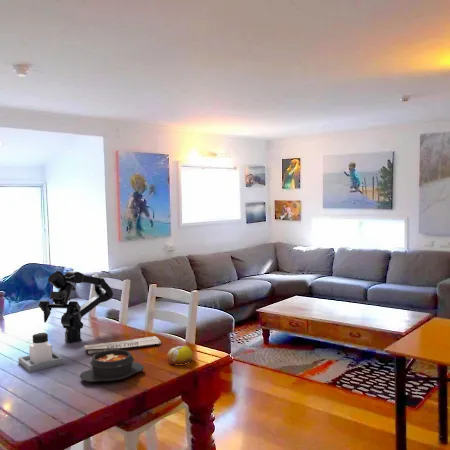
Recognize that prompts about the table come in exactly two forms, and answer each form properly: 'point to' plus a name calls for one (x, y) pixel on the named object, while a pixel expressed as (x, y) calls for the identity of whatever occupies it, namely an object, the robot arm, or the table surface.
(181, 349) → the fruit
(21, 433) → the table surface
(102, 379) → the casserole
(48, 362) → the tray
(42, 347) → the medicine bottle
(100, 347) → the newspaper
